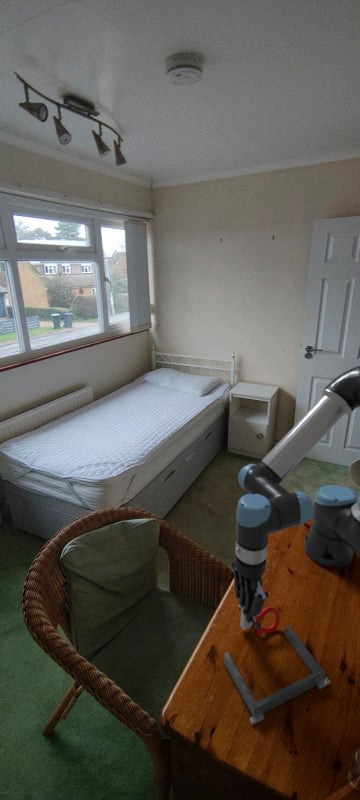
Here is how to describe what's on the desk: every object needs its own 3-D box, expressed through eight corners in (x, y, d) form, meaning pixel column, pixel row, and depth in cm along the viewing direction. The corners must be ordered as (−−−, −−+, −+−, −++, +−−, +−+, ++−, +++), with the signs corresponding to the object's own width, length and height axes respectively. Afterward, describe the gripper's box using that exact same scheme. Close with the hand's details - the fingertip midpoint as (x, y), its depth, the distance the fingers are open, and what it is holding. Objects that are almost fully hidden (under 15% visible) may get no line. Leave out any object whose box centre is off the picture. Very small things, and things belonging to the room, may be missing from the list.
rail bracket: (290, 632, 99) (291, 624, 98) (329, 684, 87) (331, 675, 86) (220, 664, 91) (220, 655, 90) (252, 725, 79) (252, 716, 78)
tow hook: (282, 628, 100) (259, 639, 97) (260, 608, 109) (238, 617, 106) (279, 604, 99) (256, 614, 97) (257, 586, 109) (235, 595, 106)
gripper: (223, 542, 95) (221, 611, 104) (253, 579, 84) (248, 653, 92) (248, 533, 98) (244, 602, 106) (280, 568, 87) (273, 641, 95)
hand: (246, 626), depth 99 cm, fingers closed
